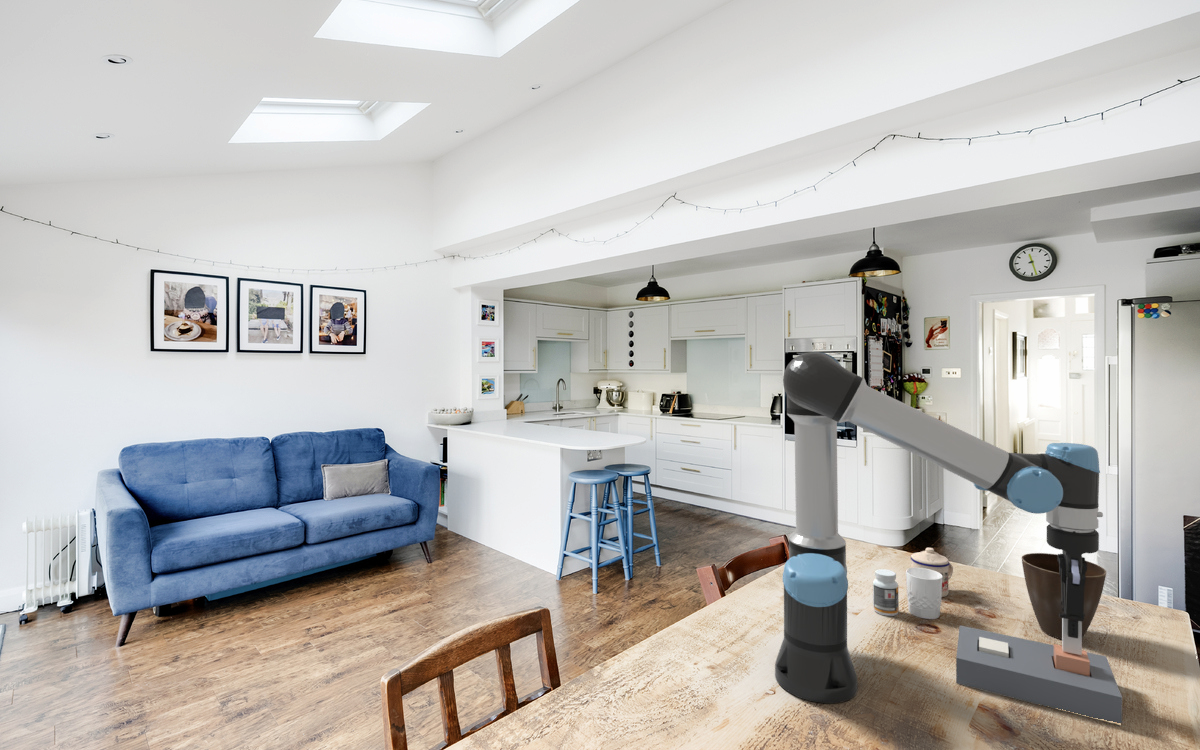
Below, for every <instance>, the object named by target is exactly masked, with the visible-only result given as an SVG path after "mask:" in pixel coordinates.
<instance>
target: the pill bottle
mask: <svg viewBox="0 0 1200 750" xmlns="http://www.w3.org/2000/svg"><path fill="white" fill-rule="evenodd" d="M874 576H875V578H874V579H873V582H872V606H873V607H872V608H873V610H874V611H875V612H876V613H878V614H880V615H882V616H887V617H894V616H897V615H898V614H899V613H900V612H899V610H900V609H899V602H900V601H899V584H898V582H897V581H896V579H897V573H896V572H895V571H893V570H890V569H884V568H883V569H882V568H880V569H876V570H875V571H874Z"/></svg>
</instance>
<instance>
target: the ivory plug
mask: <svg viewBox="0 0 1200 750" xmlns="http://www.w3.org/2000/svg"><path fill="white" fill-rule="evenodd" d="M979 651H981V652H985V653H989V654H994V655H998V656H1002V657H1007V658H1009V651H1008V643H1006V642H1001V641H996V640H992V639H987V638H983V637H979Z"/></svg>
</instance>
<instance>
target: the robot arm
mask: <svg viewBox="0 0 1200 750" xmlns="http://www.w3.org/2000/svg"><path fill="white" fill-rule="evenodd" d="M782 379H783V380H782V382H783V384H782V385H783V388H784V392H785V394H786V415H787V416H788V417H789V418H790V419H791V420H792V421H793V423H794V469H795V470H794V471H795V472H794V476H795V477H794V478H795V479H794V481H795V492H794V493H795V530H794V531H793V532H792V533H790V535H788V559H787V560H786V562H785V564H784V566H783V572H782V583H783V639H782V643H781V645H780V648H779V650H778V651H779V652H778V653H777V656H776V660H775V663H774V664H775V665H774V676H775V680H776V681H777V683H778V684H779V686H780V687H781V688H782V689H783V690H785V691H787V692H788V693H790V694H791V695H793V696H796V697H797V698H799V699H803V700H806V701H809V702H814V703H820V704H839V703H840V704H841V703H843V702H847V701H850V700H851V699H852V698H853V699H854V697H855V695H856V694H857V693H858V676H857V672H856V669H855V667H854V664H853V661H852V657H851V654H850V652H849V648H848V590H849V580H848V577H847V576H848V568H847V549H846V548H847V545H846V544H847V543H846V539H845V538H844V537H842V535H841V534H840V533H839V518H838V517H839V511H838V510H839V506H838V505H839V503H838V501H839V500H838V499H839V498H838V497H839V495H838V494H839V493H838V491H839V490H838V429H837V428H838V425H837V424H838V423H845V422H848V423H851V424H853V425H855V426H857V427H859V428H861V429H863V430H865V431H867V432H869V433H871V434H873V435H876V436H877V437H880V438H881V439H883V440H886V441H887V442H889V443H891V444H893V445H896V446H898V447H900V448H902V449H903V450H905V451H908V452H909V453H912V454H914V455H916V456H917V457H920V458H921V459H924V460H926V461H928V462H930V463H931V464H934V465H936V466H938V467H940V468H942V469H944V470H946V471H948V472H950V473H952V474H954V475H957V476H958V477H961V478H963V479H964V480H967V481H969V482H971V483H972V484H973V486H974V487H975V489H977V490H980V491H988V492H990V493H992V494H993V495H996V496H999V497H1000V498H1002V499H1004V500H1006V501H1008V502H1010V503H1011V504H1013V506H1014V507H1016V508H1017V509H1020V510H1021V511H1024V512H1027V513H1030V514H1036V515H1037V514H1045V515H1046V517H1045V520H1046V522H1047V523H1048V524H1047V525H1046V543H1047V544H1048V546H1050V547H1051V548H1053V549H1056V550H1061V551H1062V553H1057V555H1058V563H1059V574H1060V577H1061V605H1062V606H1063V608H1062V611H1063V613H1059V617H1060V618H1062V639H1061V642H1062V643H1061V646H1062V649H1063V651H1064V652H1068V653H1073V654H1078V655H1082V650H1083V647H1082V646H1083V638H1082V622H1083V620H1084V617H1085V614H1084V612H1083V611H1084V587H1085V580H1086V577H1085V572H1086V571H1087V562H1085V561H1086V557H1083V554H1094V553H1097V552H1098V551H1099V550H1100V549H1099V548H1100V544H1099V543H1100V533H1099V531H1097V529H1098V528H1099V519H1098V518H1102V517H1103V518H1104V514H1103V512H1102V511H1099V499H1100V498H1099V495H1100V494H1099V489H1100V474H1101V471H1100V459H1099V452H1098V450H1097V449H1096V448H1095V447H1094V446H1091V445H1088V444H1083V443H1072V442H1058V443H1057V442H1052V443H1049V444H1047V445H1046V449H1045V453H1019V452H1018V453H1017V452H1008V451H1006V450H1004V449H1002V448H1000V447H998V446H997V445H993V444H991V443H989V442H987V441H985V440H982V439H981V438H979V437H976V436H974V435H973V434H970V433H968V432H966V431H965V430H961V429H959V428H957V427H955V426H953V425H951V424H949V423H946V422H945V421H942V420H940V419H938V418H936V417H934V416H932V415H930V414H928V413H925V412H923V411H921V410H919V409H917V408H915V407H913V406H910V405H908V404H907V403H904V402H902V401H900V400H898V399H896V398H894V397H892V396H889V395H887V394H885V393H883V392H880V391H878V390H876V389H874V388H872V387H871V386H868V384H867V382H866V379H865V378H864V377H862V376H860V375H857V374H856V373H854V372H851V371H849V370H848V369H846V368H845V367H844V366H842V365H841V363H839V361H838V360H837V359H836V358H835V356H832V355H830V354H828V353H825V352H818V351H811V352H809V351H808V352H805V353H802V354H800V355H797V356H796V357H794V358H793V359H791V361H790V362H789V363H788V364H787V365H786V368H785V370H784V372H783V377H782Z"/></svg>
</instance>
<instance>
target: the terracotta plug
mask: <svg viewBox="0 0 1200 750" xmlns="http://www.w3.org/2000/svg"><path fill="white" fill-rule="evenodd" d="M1053 645H1054V668H1055V669H1059V670H1063V671H1068V672H1072V673H1076V674H1081V675H1085V676H1089V677H1090V661H1089V658H1088V655H1087V652H1088V651H1087V650H1083V649H1082V655H1078V654H1073V653H1068V652H1064V651H1063V649H1062V644H1061V645H1060V644H1056V643H1053Z"/></svg>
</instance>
